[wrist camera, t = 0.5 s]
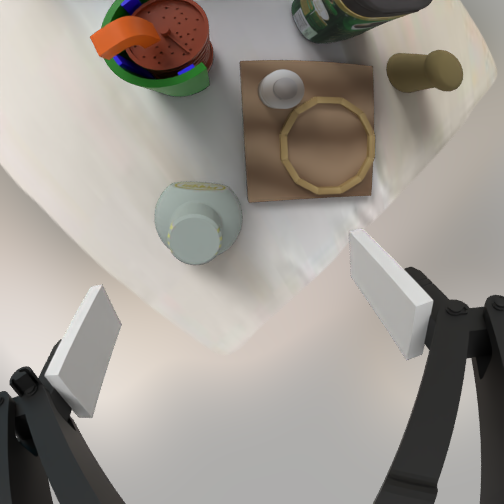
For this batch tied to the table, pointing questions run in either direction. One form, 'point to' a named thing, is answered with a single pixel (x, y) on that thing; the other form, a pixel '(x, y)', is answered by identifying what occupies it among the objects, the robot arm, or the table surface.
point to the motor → (157, 45)
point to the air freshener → (198, 220)
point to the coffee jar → (347, 16)
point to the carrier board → (307, 129)
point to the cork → (424, 71)
